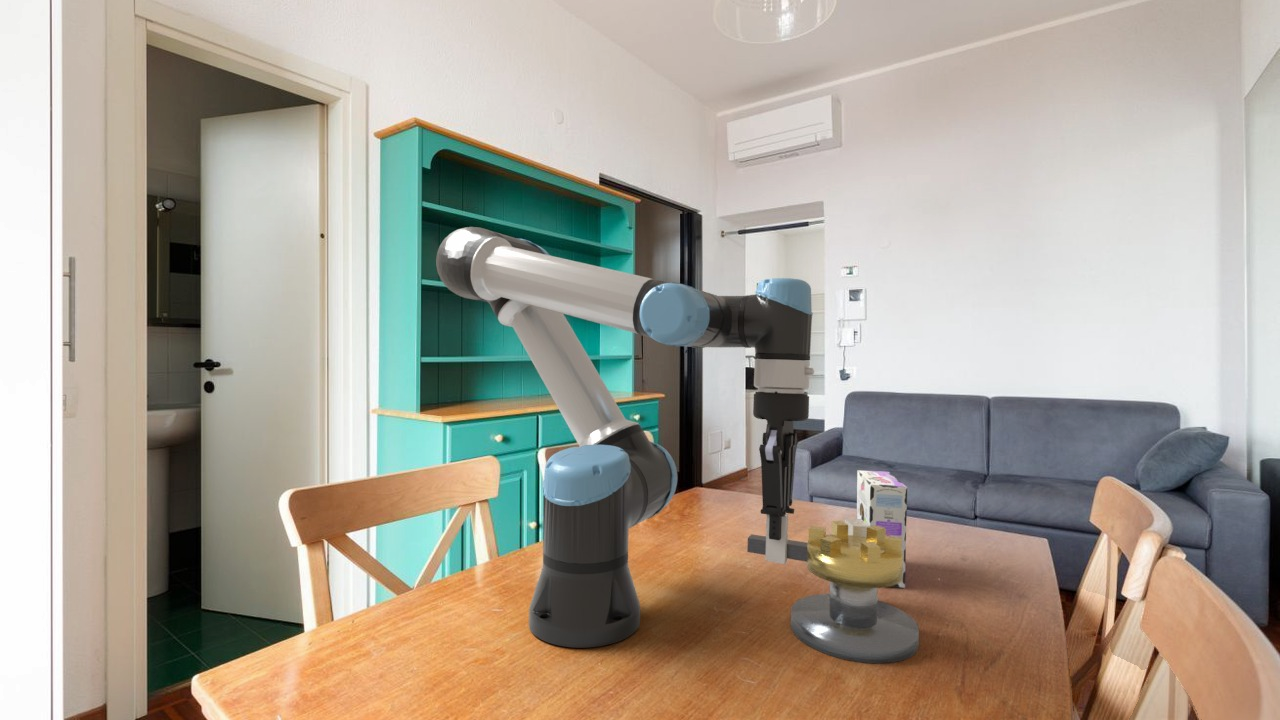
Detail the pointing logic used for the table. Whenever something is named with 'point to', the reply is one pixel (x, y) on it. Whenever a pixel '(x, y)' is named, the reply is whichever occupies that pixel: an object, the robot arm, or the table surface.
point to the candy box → (883, 505)
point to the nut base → (855, 639)
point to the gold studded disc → (846, 555)
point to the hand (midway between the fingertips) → (776, 561)
